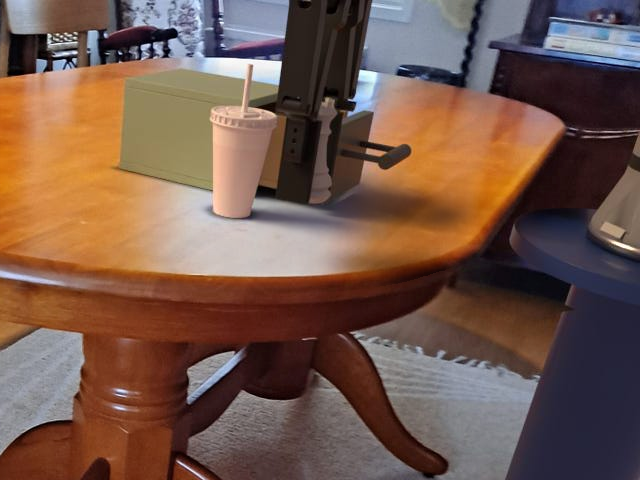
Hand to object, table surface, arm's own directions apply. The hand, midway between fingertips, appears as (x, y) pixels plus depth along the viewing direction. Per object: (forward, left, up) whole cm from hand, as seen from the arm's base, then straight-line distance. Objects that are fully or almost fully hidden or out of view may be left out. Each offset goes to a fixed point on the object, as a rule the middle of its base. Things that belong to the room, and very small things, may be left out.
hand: (303, 192), depth 71 cm
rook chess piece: (0, 0, 0) cm, 0 cm away
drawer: (+6, -20, -5) cm, 21 cm away
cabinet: (+19, -20, -6) cm, 28 cm away
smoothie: (+10, -8, -6) cm, 14 cm away
